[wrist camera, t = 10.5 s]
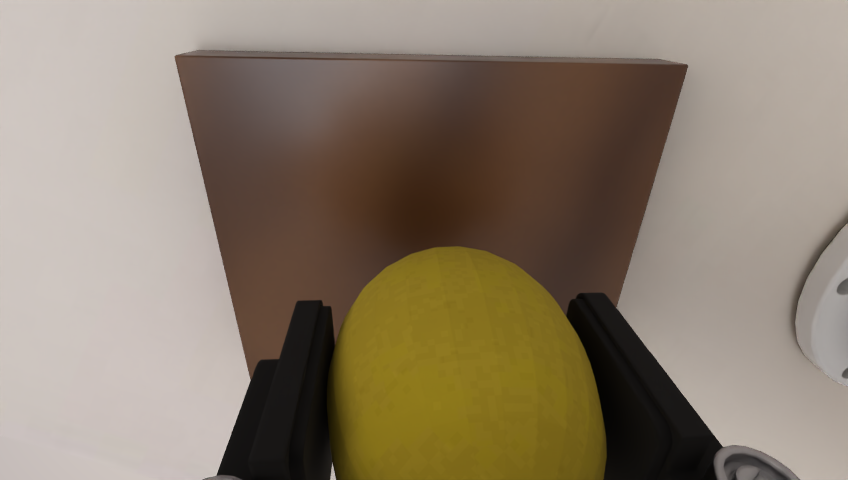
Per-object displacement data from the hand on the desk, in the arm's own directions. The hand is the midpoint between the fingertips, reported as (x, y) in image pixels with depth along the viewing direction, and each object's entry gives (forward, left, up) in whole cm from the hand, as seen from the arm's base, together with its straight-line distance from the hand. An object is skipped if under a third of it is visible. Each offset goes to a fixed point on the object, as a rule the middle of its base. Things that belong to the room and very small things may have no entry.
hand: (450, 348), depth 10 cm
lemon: (0, 0, -3) cm, 3 cm away
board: (0, 0, -6) cm, 6 cm away
